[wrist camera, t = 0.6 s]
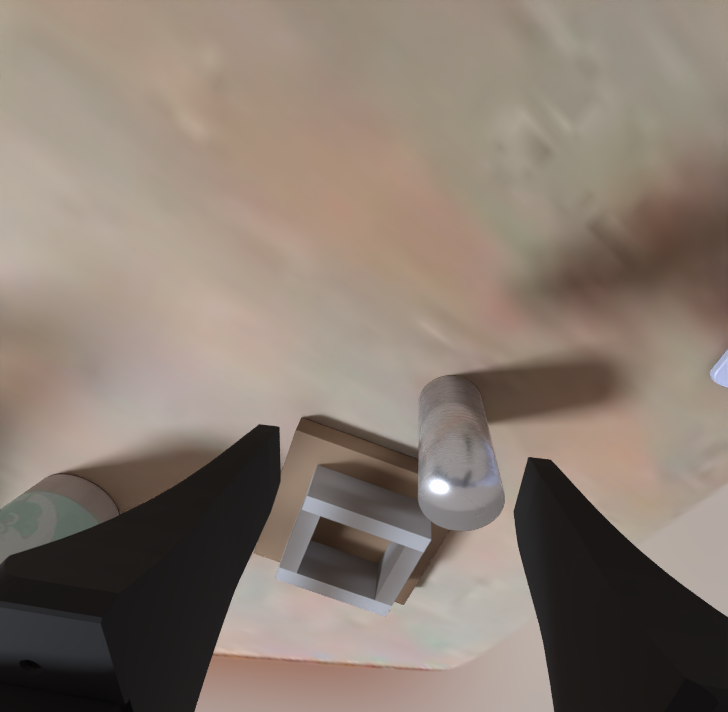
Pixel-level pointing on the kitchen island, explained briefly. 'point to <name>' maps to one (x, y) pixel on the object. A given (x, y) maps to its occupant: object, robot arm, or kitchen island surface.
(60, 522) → the coffee cup
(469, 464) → the shaft
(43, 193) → the kitchen island surface
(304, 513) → the block
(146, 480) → the kitchen island surface
